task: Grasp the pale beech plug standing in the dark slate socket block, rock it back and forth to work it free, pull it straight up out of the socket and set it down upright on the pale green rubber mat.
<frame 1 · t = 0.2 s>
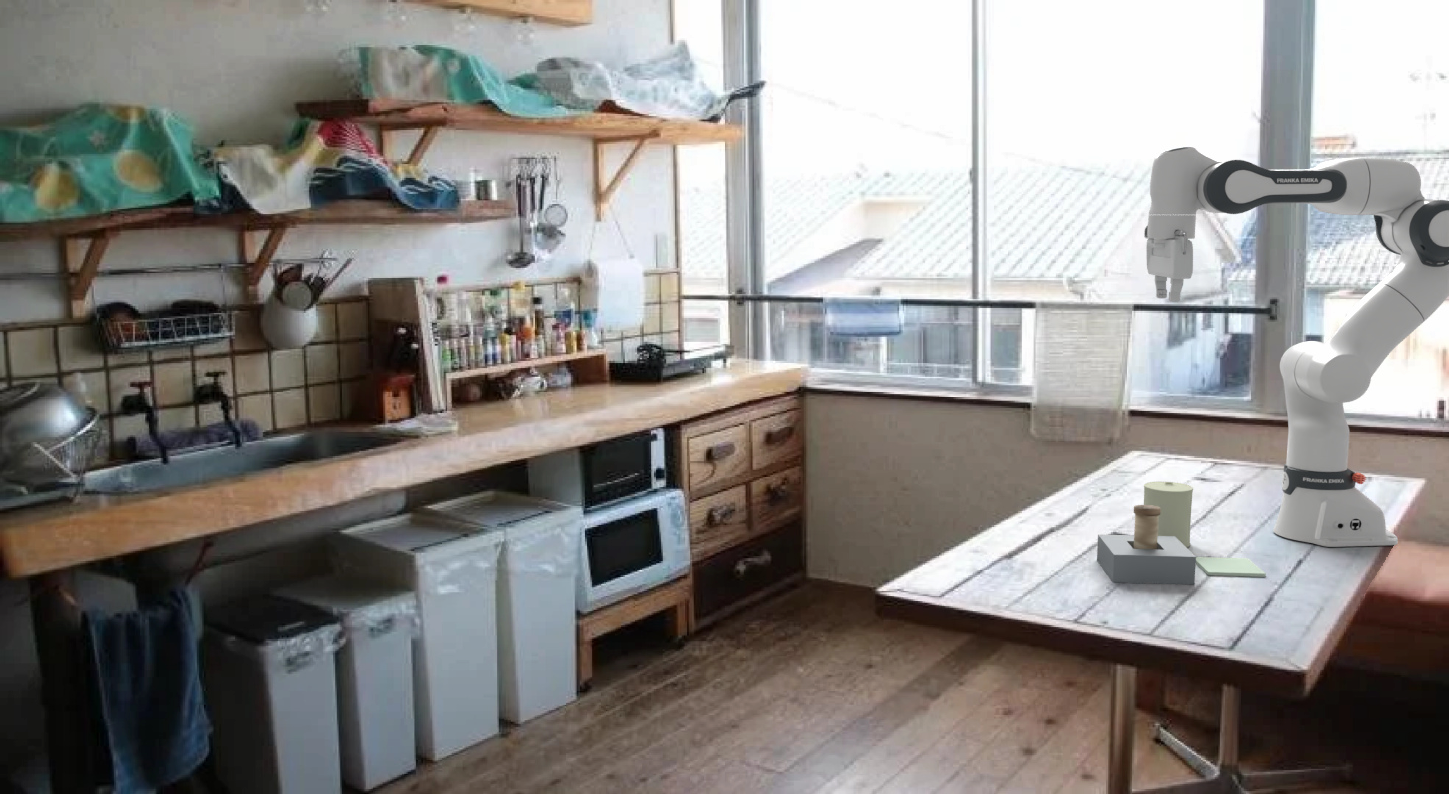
hand: (1167, 299, 243), 48 cm above the table, fingers open, 8 cm apart
socket: (1144, 572, 222), on the table
can: (1165, 544, 242), on the table
mat: (1228, 568, 225), on the table
plug: (1143, 572, 222), resting in socket
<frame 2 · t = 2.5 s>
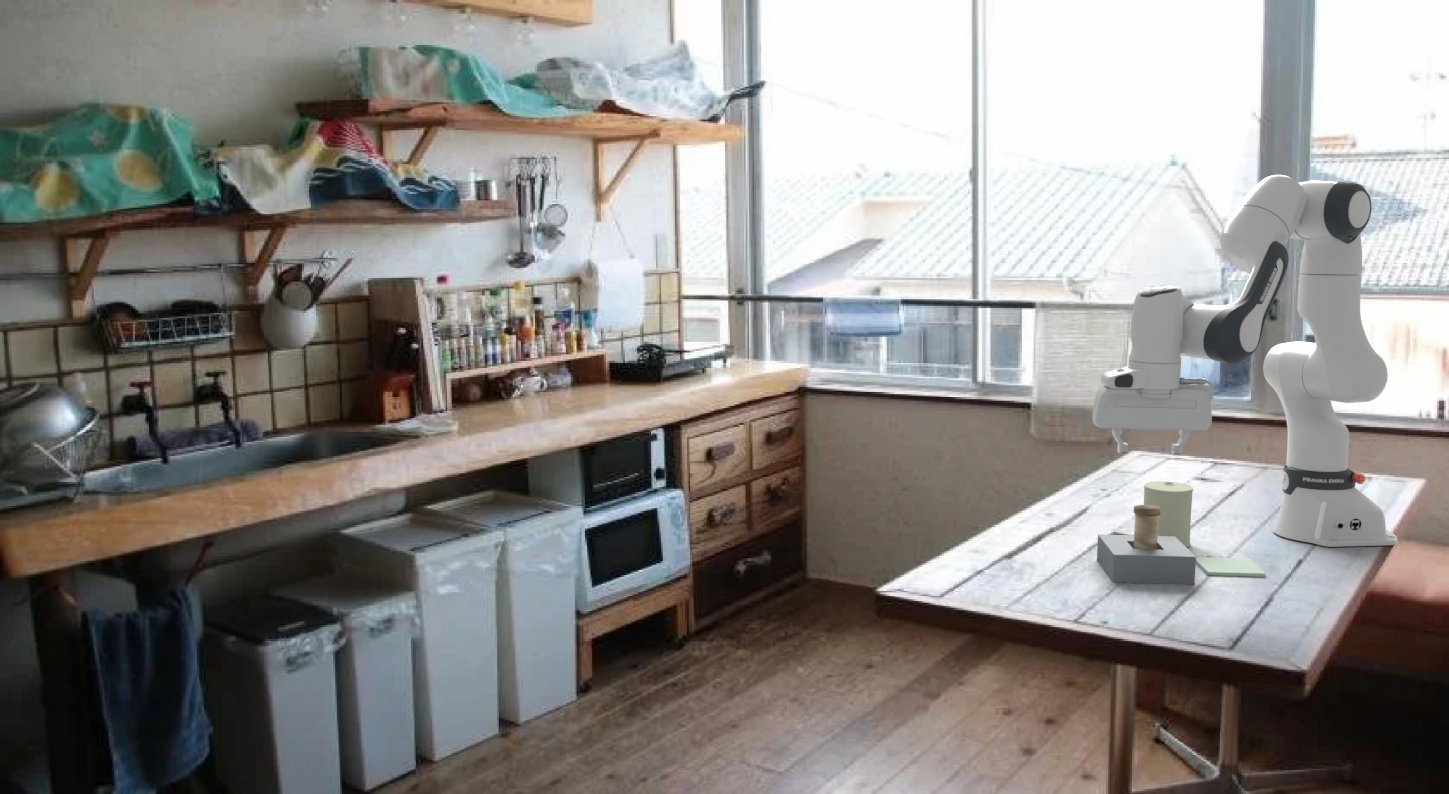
hand: (1149, 453, 219), 22 cm above the table, fingers open, 8 cm apart
nothing on the table moved.
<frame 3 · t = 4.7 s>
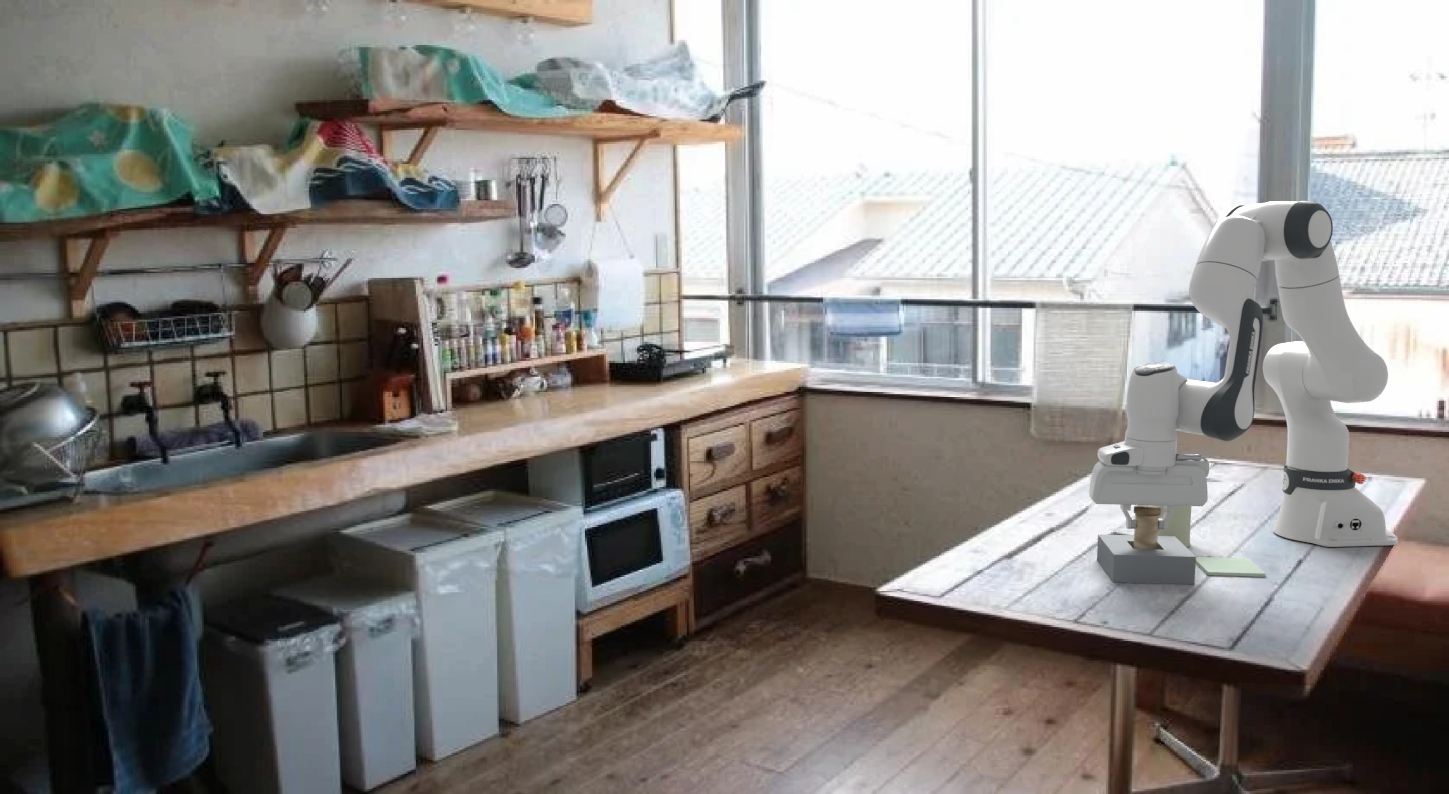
hand: (1146, 528, 221), 8 cm above the table, fingers closed on plug, 4 cm apart
plug: (1143, 572, 222), resting in socket, touching gripper
everything else where it was.
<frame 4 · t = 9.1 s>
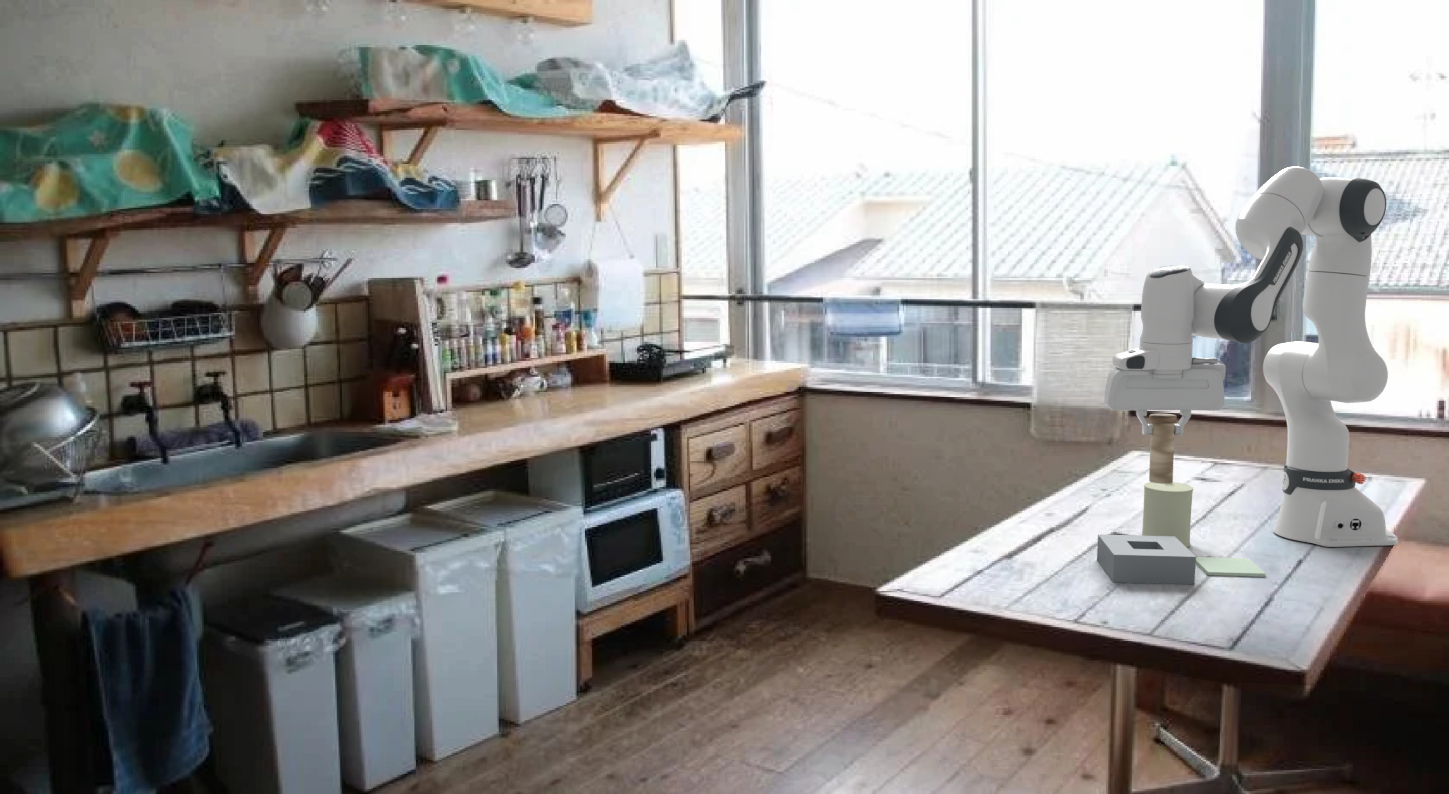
hand: (1162, 434, 219), 25 cm above the table, fingers closed on plug, 4 cm apart
plug: (1160, 481, 220), point 17 cm above the table, touching gripper
everything else where it was.
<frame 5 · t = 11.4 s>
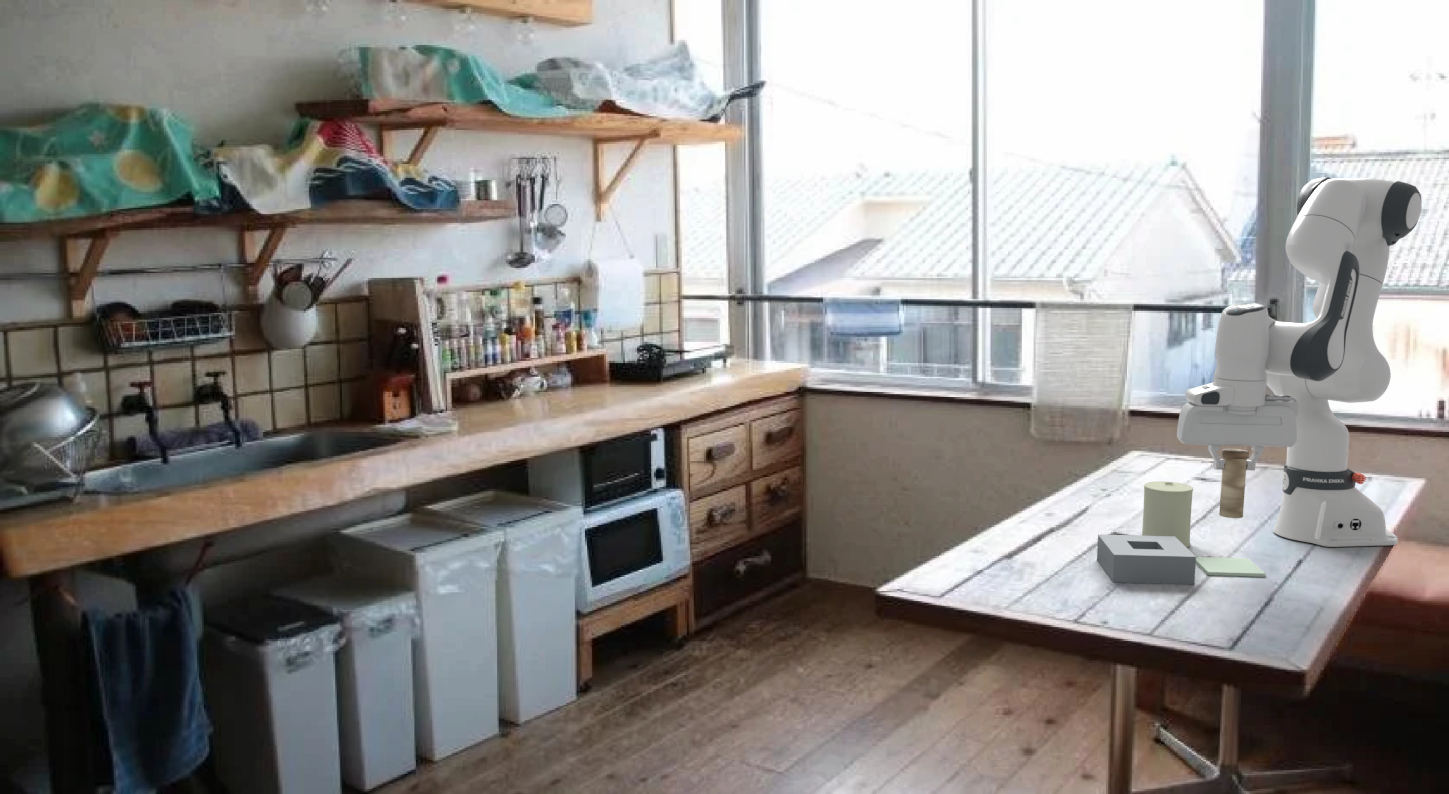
hand: (1234, 469, 222), 19 cm above the table, fingers closed on plug, 4 cm apart
plug: (1231, 515, 223), point 10 cm above the table, touching gripper
everything else where it was.
when the fingers open (10 cm above the table, at t = 13.7 s): plug stays where it is, resting on mat.
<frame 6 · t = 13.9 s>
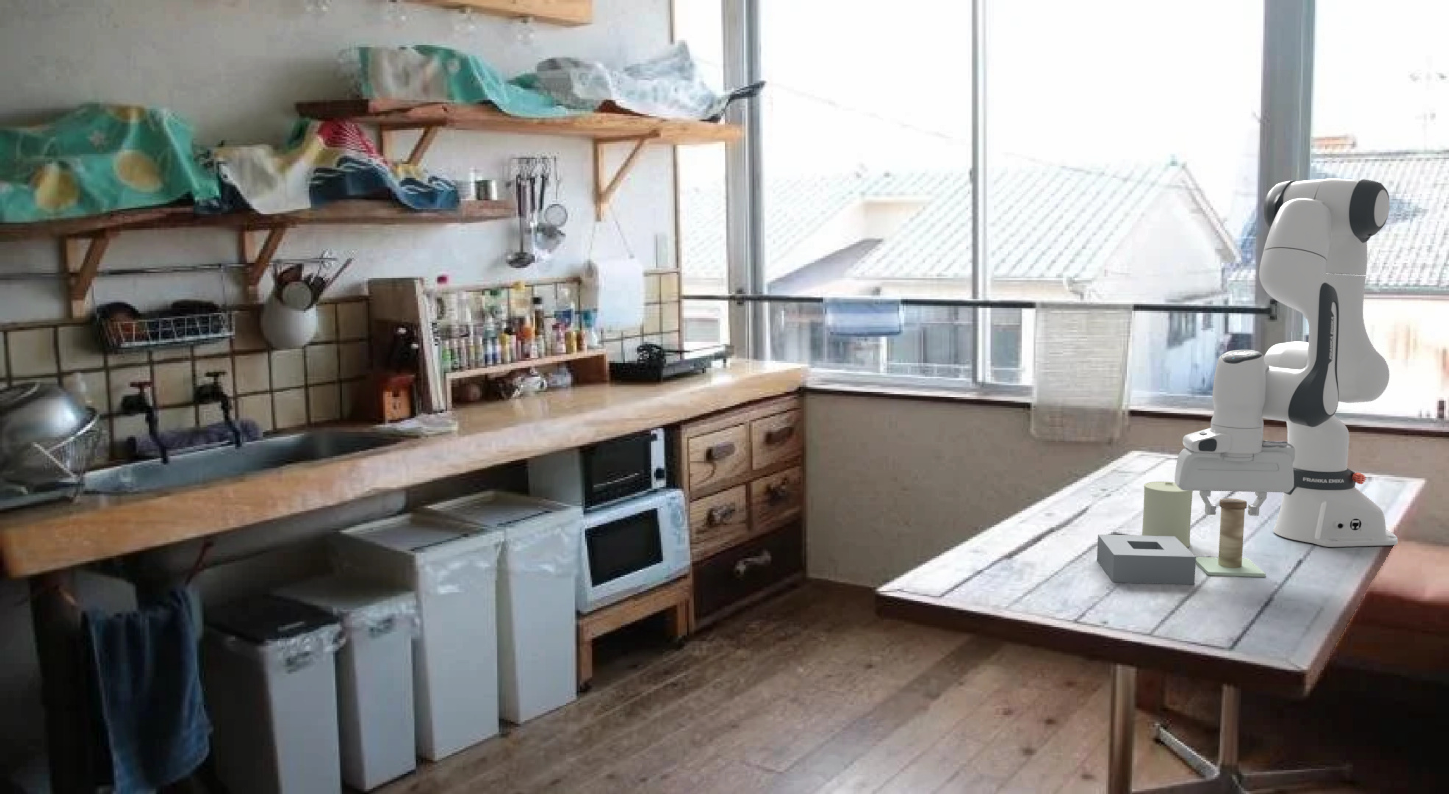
hand: (1231, 514, 223), 10 cm above the table, fingers open, 6 cm apart
plug: (1229, 565, 224), point 1 cm above the table, touching mat
everything else where it was.
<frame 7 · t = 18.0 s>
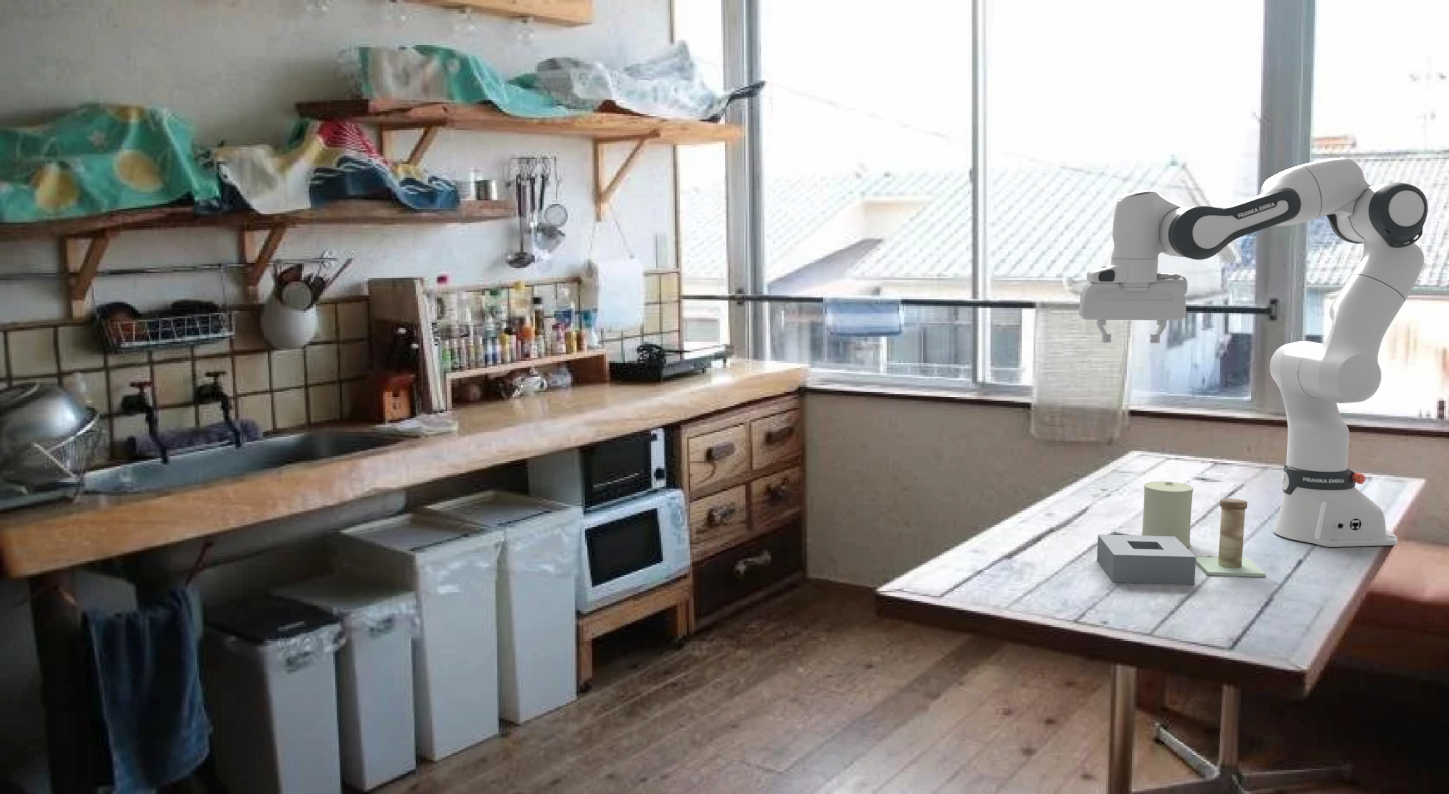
hand: (1130, 342, 244), 39 cm above the table, fingers open, 8 cm apart
nothing on the table moved.
at the end: plug inside the target area on the mat (0.3 cm from its centre), point 0.6 cm above the mat's base; plug tilted 0°; the gripper is holding nothing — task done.
